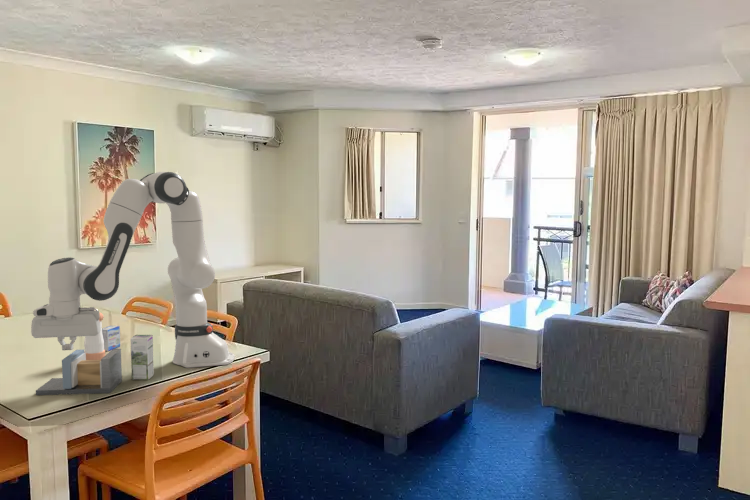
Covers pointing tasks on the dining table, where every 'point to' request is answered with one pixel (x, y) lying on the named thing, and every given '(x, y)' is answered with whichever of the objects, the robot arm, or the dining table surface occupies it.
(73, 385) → the vise jaw
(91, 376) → the wooden block
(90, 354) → the pepper shaker
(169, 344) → the dining table surface
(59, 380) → the vise
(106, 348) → the medicine box
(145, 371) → the syrup box
